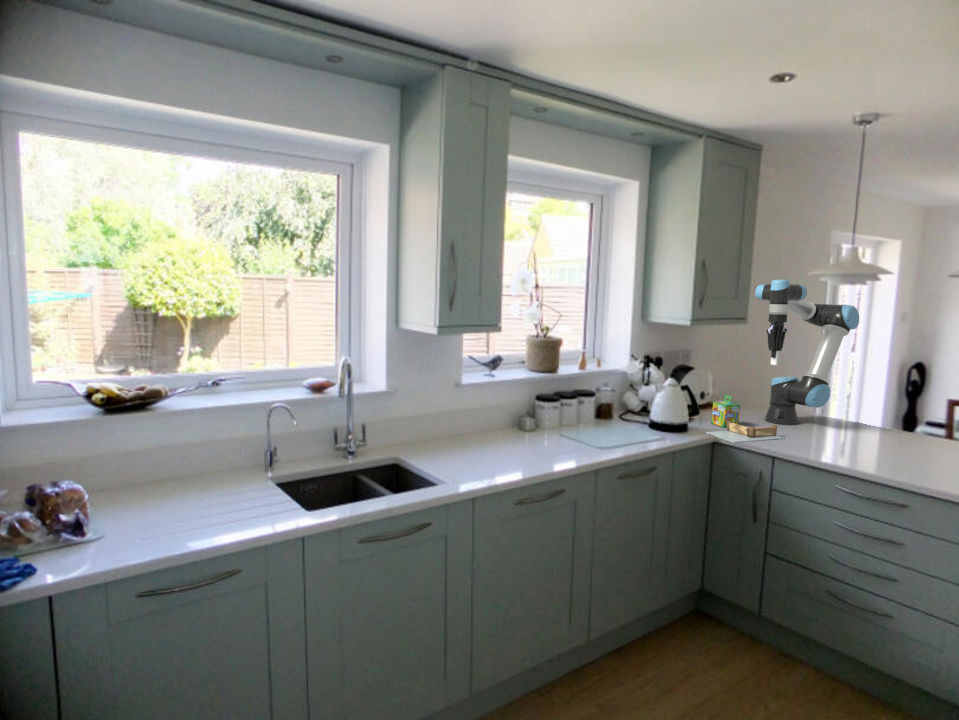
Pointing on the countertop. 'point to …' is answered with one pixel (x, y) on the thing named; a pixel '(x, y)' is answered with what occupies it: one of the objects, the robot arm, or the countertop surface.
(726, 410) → the chalk box
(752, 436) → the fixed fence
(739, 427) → the tan wooden bar
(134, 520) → the countertop surface
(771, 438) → the card
